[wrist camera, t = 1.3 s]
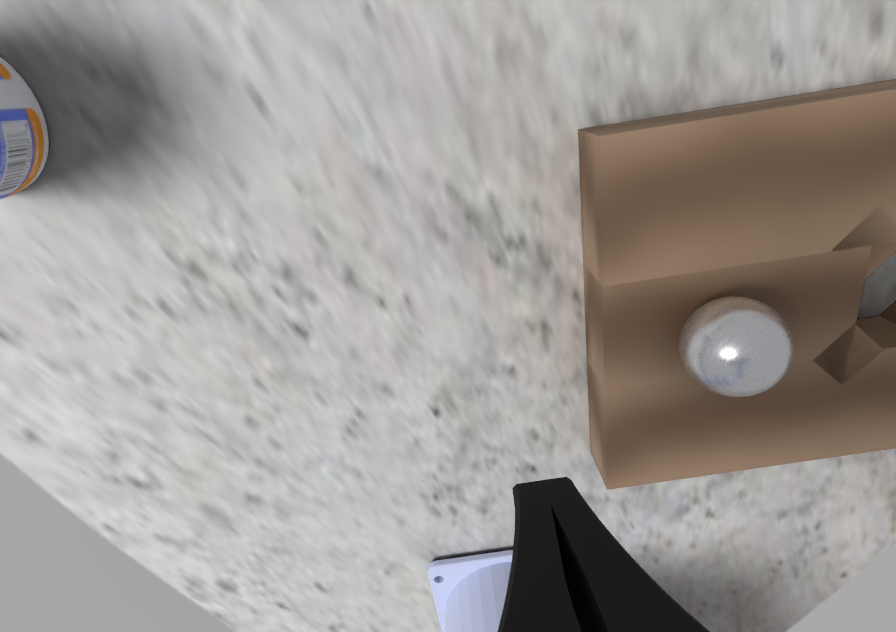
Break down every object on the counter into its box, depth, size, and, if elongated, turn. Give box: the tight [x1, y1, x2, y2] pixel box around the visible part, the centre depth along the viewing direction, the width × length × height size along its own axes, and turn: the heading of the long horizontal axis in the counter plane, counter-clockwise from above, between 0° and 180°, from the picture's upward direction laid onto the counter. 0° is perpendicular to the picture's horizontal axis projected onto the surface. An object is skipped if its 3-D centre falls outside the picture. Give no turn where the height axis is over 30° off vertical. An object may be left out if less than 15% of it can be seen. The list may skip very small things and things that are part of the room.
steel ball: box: [679, 296, 794, 397], centre depth 18 cm, size 4×4×4 cm
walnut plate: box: [578, 79, 896, 490], centre depth 21 cm, size 15×18×2 cm
